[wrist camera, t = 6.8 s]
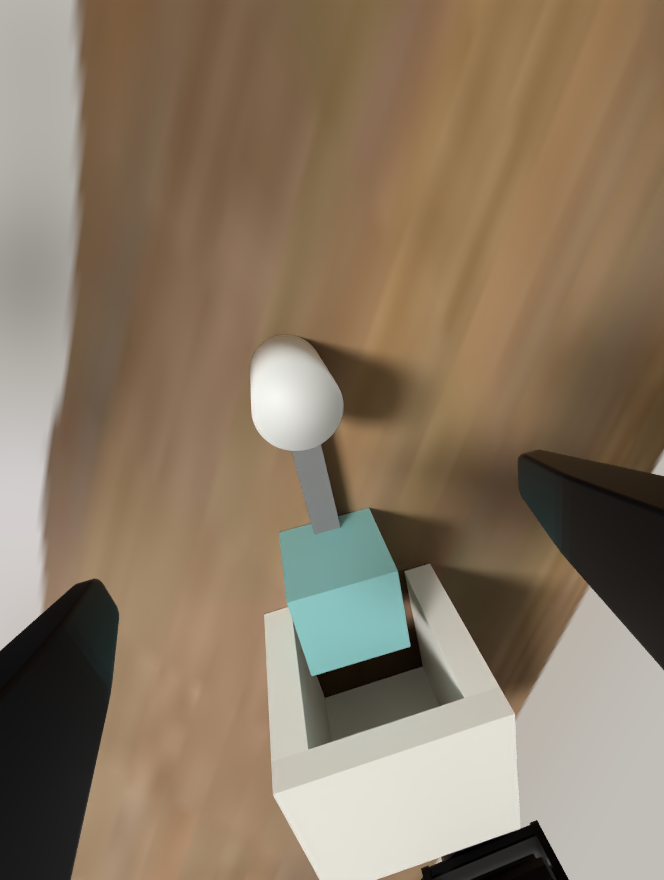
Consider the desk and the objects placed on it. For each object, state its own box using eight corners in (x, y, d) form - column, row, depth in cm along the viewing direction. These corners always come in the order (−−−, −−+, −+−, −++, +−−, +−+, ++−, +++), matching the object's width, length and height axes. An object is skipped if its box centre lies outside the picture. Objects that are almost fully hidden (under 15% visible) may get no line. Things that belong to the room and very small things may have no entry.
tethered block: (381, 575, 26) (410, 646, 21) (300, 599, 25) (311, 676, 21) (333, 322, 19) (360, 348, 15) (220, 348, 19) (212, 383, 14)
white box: (447, 673, 31) (520, 833, 22) (307, 719, 30) (331, 900, 22) (429, 563, 26) (514, 713, 18) (264, 614, 25) (273, 794, 17)
